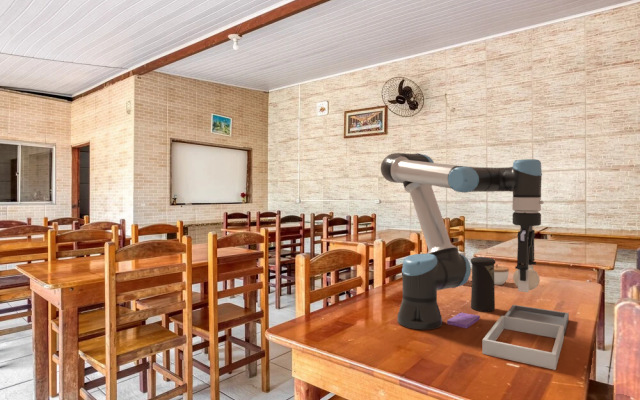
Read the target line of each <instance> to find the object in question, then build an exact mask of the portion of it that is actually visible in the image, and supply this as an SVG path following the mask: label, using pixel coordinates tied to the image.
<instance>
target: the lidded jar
mask: <svg viewBox="0 0 640 400" xmlns="http://www.w3.org/2000/svg"><path fill="white" fill-rule="evenodd" d="M509 270H510V269H509V267H506V266H502V265H498V264H497V263H495V265H494V286H500V285H504V283H506V282H507V280H508V278H509Z"/></svg>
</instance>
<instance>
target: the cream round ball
mask: <svg viewBox="0 0 640 400" xmlns="http://www.w3.org/2000/svg"><path fill="white" fill-rule="evenodd" d="M528 269H529V291H532V290H534V289H536V288H538V286H539V284H540V281H541V279H540V276H539V273H538V272H537V271H536V270H535V269H534V268H533V269H532V268H528ZM512 278H513V282H514V285H515V286H516V287H517V288H518V269H515V271H514V273H513V277H512Z"/></svg>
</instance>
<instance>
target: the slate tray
mask: <svg viewBox="0 0 640 400" xmlns="http://www.w3.org/2000/svg"><path fill="white" fill-rule="evenodd" d="M504 316H508V317H514V318H520V319H526V320H532V321H538V322H544V323H550V324H556V325H562V326H564V337H565V336H566V331H567V327H568V324H569V316H570V314H569V312H563V311H559V310H558V311H557V310H553V309H552V310H551V309H544V308H538V307H531V306H525V305H519V304H518V305H517V304H512V306H510V308H509V309H508V310H507V312H505V315H504Z"/></svg>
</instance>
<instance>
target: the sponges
mask: <svg viewBox="0 0 640 400" xmlns="http://www.w3.org/2000/svg"><path fill="white" fill-rule="evenodd" d="M480 319H481V316H480V315H478V314H470V313H465V312H459V313H457V314H455V315H454V316H453V317H451V318H449V319H447V323H446V324H447V325H450V326H455V327H458V328H463V329H468V328H470V327H471V326H473V324H475V323H476V322H478V321H479V320H480Z"/></svg>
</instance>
